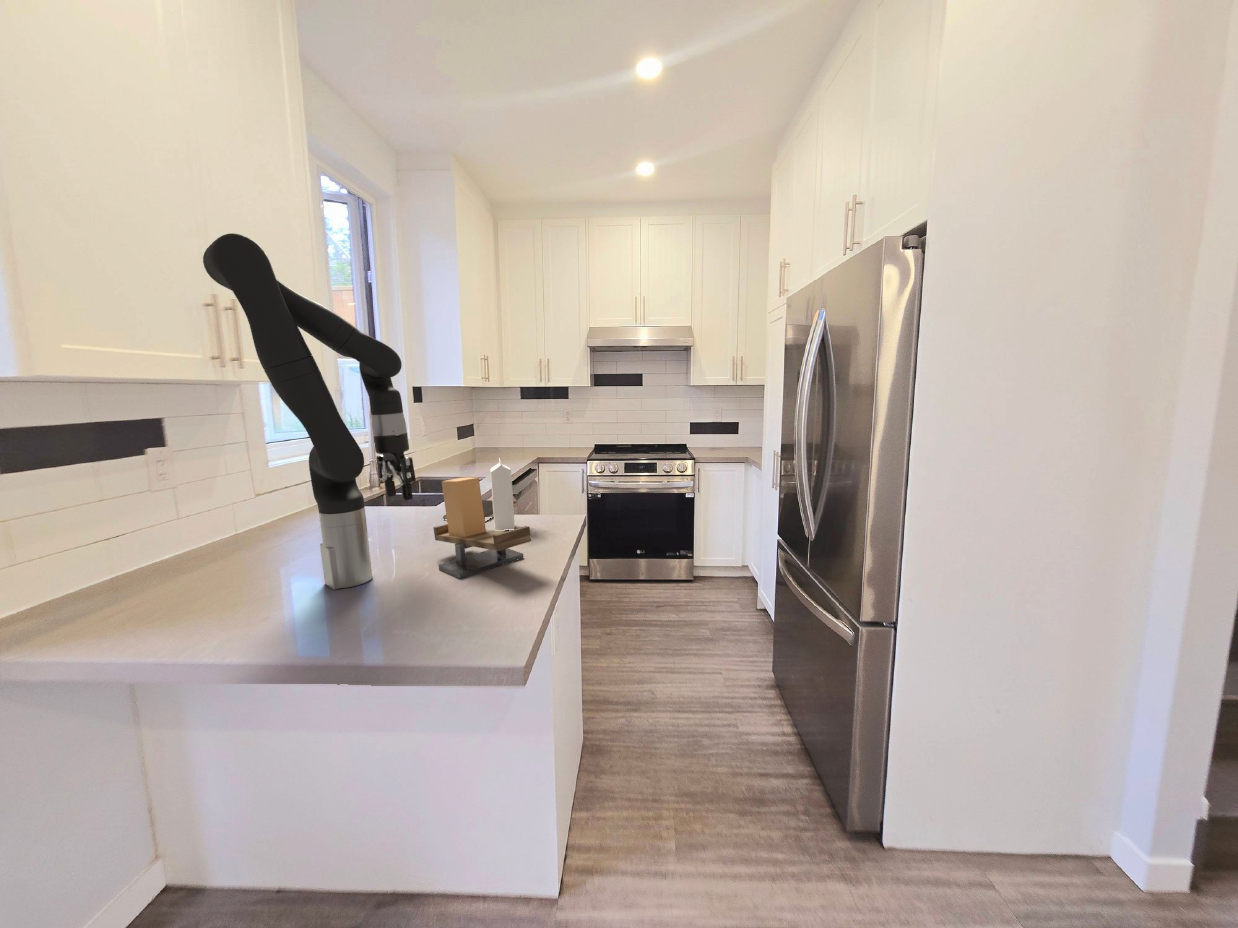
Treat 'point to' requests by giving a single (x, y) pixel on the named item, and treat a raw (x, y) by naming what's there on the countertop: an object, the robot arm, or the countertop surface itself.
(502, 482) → the milk
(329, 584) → the robot arm
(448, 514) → the block
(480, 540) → the beam
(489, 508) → the hardcover book
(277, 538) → the countertop surface
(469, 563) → the pivot stand
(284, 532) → the countertop surface
